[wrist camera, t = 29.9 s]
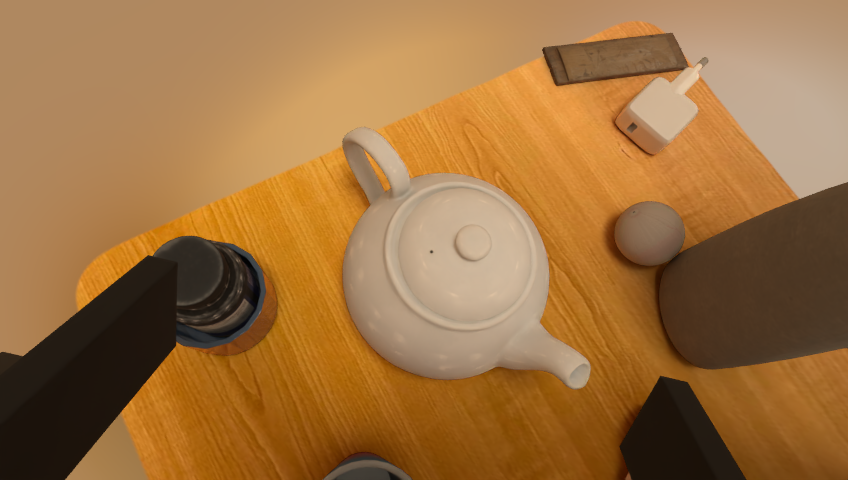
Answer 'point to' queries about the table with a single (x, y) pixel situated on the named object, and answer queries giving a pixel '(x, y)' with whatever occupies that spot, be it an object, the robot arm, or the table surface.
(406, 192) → the teapot
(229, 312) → the pill bottle
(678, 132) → the power adapter
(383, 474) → the cup
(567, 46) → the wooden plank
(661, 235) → the ball
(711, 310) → the vase
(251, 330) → the cylindrical container
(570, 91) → the table surface
